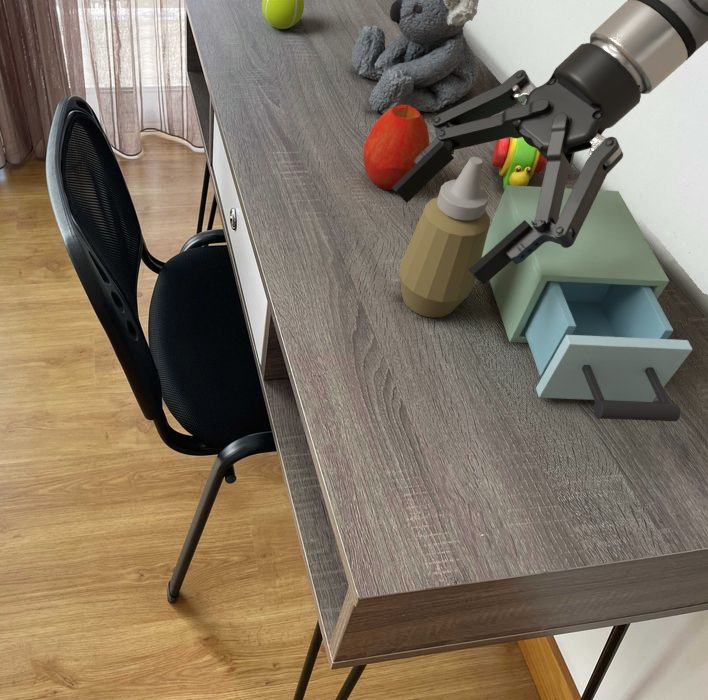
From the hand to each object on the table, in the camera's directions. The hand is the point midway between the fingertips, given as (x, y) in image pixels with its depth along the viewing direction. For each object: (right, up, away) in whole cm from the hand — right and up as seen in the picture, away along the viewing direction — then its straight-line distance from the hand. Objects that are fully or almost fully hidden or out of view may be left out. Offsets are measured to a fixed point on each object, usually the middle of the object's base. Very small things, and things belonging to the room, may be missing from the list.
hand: (435, 234), depth 73 cm
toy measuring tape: (+18, +15, +28) cm, 36 cm away
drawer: (+15, -14, +1) cm, 21 cm away
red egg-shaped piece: (0, +10, +23) cm, 25 cm away
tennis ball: (-13, +43, +51) cm, 68 cm away
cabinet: (+15, -6, +10) cm, 19 cm away
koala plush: (+7, +28, +40) cm, 49 cm away
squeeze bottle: (+1, -6, +8) cm, 10 cm away
